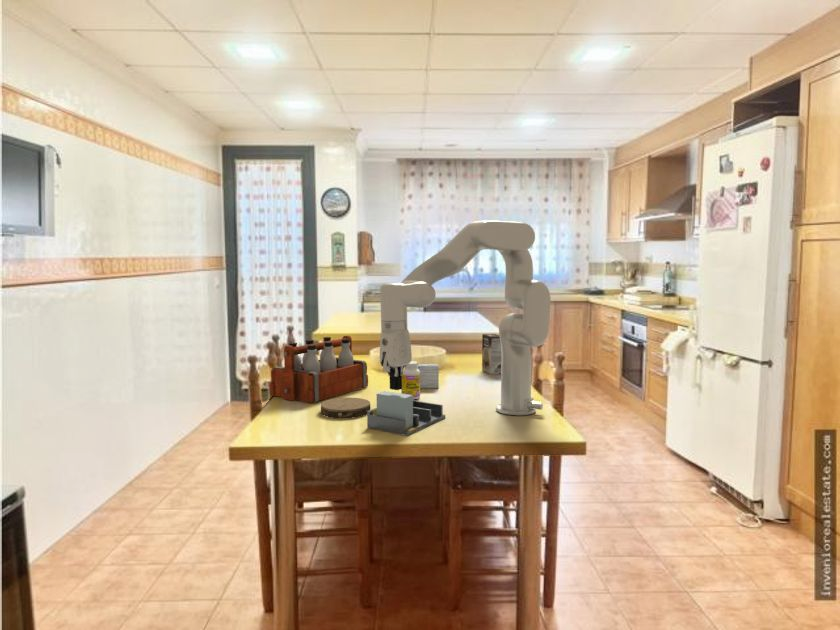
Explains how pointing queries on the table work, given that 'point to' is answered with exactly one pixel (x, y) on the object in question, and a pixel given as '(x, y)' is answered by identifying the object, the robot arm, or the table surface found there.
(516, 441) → the table surface
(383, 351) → the robot arm
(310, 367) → the milk bottle holder
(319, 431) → the table surface
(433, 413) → the rack
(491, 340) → the coffee box
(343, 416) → the round wood slice
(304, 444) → the table surface
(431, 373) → the medicine box
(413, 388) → the supplement bottle
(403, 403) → the panel
